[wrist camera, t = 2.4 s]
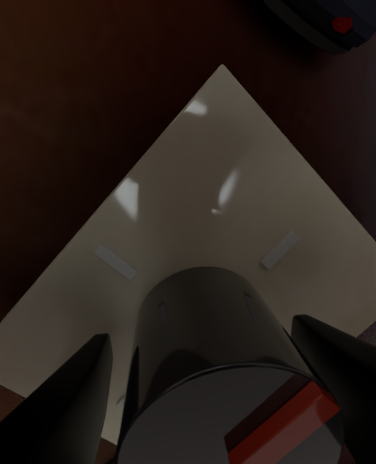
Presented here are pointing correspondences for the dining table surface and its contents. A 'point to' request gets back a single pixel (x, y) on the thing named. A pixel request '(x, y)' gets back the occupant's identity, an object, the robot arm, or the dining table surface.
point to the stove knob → (221, 381)
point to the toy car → (329, 21)
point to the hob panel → (196, 242)
